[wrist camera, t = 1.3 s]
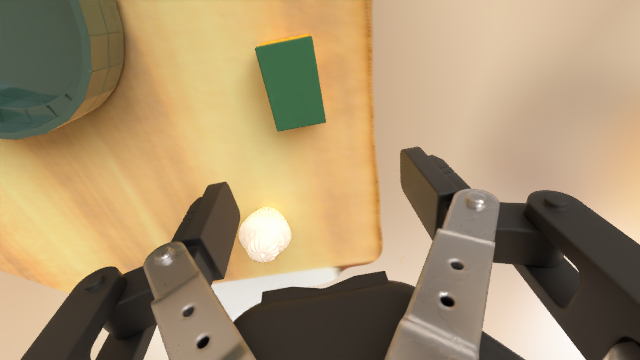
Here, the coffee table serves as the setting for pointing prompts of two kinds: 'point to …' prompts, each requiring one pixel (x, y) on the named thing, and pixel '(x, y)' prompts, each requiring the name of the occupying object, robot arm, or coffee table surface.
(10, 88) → the bowl
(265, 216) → the muffin
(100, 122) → the coffee table surface
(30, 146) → the coffee table surface
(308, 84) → the sponge
